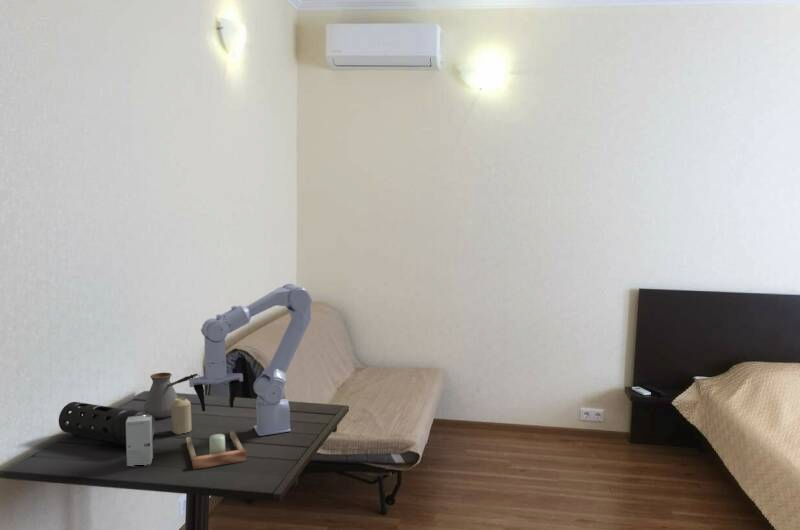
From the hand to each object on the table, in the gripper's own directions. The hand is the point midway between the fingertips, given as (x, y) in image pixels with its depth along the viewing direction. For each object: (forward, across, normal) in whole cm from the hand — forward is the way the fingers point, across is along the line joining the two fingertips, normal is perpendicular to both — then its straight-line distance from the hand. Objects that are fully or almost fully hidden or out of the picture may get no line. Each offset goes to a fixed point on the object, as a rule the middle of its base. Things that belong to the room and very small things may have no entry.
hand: (217, 408), depth 187 cm
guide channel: (+9, -2, -7) cm, 12 cm away
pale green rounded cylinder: (+9, -2, -13) cm, 16 cm away
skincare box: (+10, -21, -8) cm, 24 cm away
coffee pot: (+10, -10, +27) cm, 30 cm away
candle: (+10, -9, +12) cm, 18 cm away
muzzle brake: (+10, -29, +12) cm, 33 cm away
